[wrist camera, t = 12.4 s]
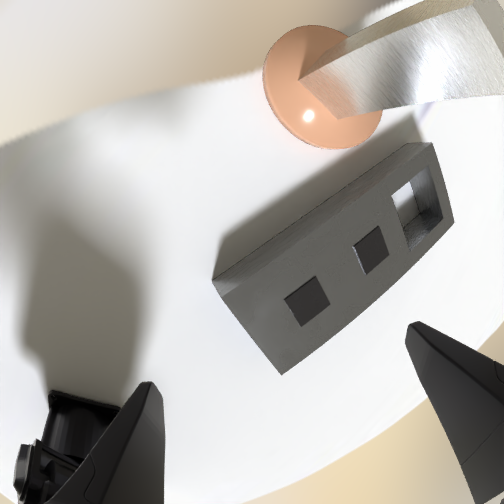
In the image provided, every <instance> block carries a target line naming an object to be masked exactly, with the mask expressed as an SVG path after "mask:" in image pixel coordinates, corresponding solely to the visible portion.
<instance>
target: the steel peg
mask: <svg viewBox="0 0 504 504" xmlns="http://www.w3.org/2000/svg"><path fill="white" fill-rule="evenodd" d="M298 81H299V82H300V83H301V84H302V85H303V86H304V87H305V88H306V89H307V90H308V91H309V92H310V93H312V94H313V95H314V96H315V97H316V98H317V99H318V100H319V101H320V102H321V103H322V104H323V105H324V106H325V107H326V108H327V109H328V110H329V112H330V113H331V114H332V115H333V116H334V117H335V118H336V119H337V120H338V119H343V118H347V117H351V116H356V115H360V114H365V113H370V112H375V111H380V110H385V109H390V108H396V107H401V106H407V105H413V104H419V103H426V102H433V101H440V100H448V99H457V98H466V97H477V96H490V95H504V11H503V9H502V7H501V6H500V4H499V3H498V1H497V0H424V1H422V2H420V3H417V4H415V5H413V6H410V7H408V8H406V9H404V10H401V11H399V12H397V13H395V14H393V15H391V16H389V17H387V18H385V19H383V20H381V21H379V22H377V23H375V24H373V25H371V26H369V27H367V28H365V29H363V30H361V31H359V32H357V33H356V34H354V35H352V36H350V37H348V38H347V39H345V40H343V41H341V42H340V43H338V44H336V45H334V46H333V47H331V48H329V49H328V50H326V51H325V52H324V53H323V54H322V56H321V57H320V58H319V59H318V60H317V61H316V62H315V63H314V64H313V65H312V66H311V67H310V68H309V69H308V70H307V71H306V72H305V74H304V75H303V76H302V77H301V78H300V79H299V80H298Z"/></svg>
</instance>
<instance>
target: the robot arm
mask: <svg viewBox="0 0 504 504" xmlns="http://www.w3.org/2000/svg"><path fill="white" fill-rule="evenodd" d="M405 345H406V348H407V350H408V352H409V355H410V357H411V360H412V362H413V365H414V367H415V370H416V372H417V375H418V377H419V380H420V382H421V384H422V386H423V388H424V390H425V392H426V394H427V395H428V397H429V399H430V401H431V403H432V405H433V407H434V409H435V411H436V413H437V415H438V418H439V420H440V422H441V423H442V426H443V428H444V430H445V432H446V434H447V436H448V439H449V441H450V443H451V445H452V447H453V450H454V452H455V454H456V456H457V459H458V461H459V464H460V465H461V469H462V471H463V474H464V476H465V478H466V481H467V483H468V486H469V488H470V491H471V494H472V496H473V499H474V502H475V504H484V503H486V502H487V501H489V500H491V499H492V498H494V497H496V496H497V495H499V494H500V493H502V492H503V491H504V365H502V364H500V363H498V362H496V361H493V360H492V359H491V358H489V357H487V356H485V355H483V354H481V353H479V352H477V351H476V350H474V349H472V348H470V347H468V346H466V345H464V344H462V343H460V342H459V341H457V340H455V339H453V338H451V337H449V336H447V335H445V334H443V333H441V332H439V331H438V330H436V329H434V328H432V327H430V326H428V325H426V324H424V323H422V322H420V321H417V322H414V323H411V324H409V326H408V329H407V334H406V339H405ZM54 396H55V397H54ZM48 400H49V414H48V417H47V421H46V424H45V428H44V432H43V436H42V439H41V441H40V440H38V439H36V440H35V441H34V443H33V445H30V444H29V445H25V444H21V446H20V449H19V452H18V456H17V459H16V464H15V470H14V481H13V486H14V488H15V489H16V491H17V496H18V504H164V464H165V424H164V409H163V398H162V395H161V393H160V392H159V390H158V389H157V387H156V386H155V384H154V383H153V382H151V381H149V382H142V383H140V384H139V386H138V387H137V388H136V390H135V391H134V392H133V394H132V395H131V397H130V398H129V399H128V401H127V402H126V403H125V405H124V406H123V407H122V409H121V408H119V407H117V406H112V405H108V404H103V403H99V402H94V401H90V400H86V399H82V398H79V397H75V396H71V395H68V394H64V393H61V392H57V391H54V390H52V391H50V392H49V395H48ZM116 412H118V413H116ZM500 504H504V499H502V500H501V503H500Z"/></svg>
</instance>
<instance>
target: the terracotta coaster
mask: <svg viewBox="0 0 504 504" xmlns="http://www.w3.org/2000/svg"><path fill="white" fill-rule="evenodd" d="M347 38H348V36H346V35H345V34H343V33H341V32H339V31H337V30H334V29H332V28H328V27H324V26H318V25H317V26H316V25H308V26H301V27H298V28H295V29H293V30H291V31H289V32H287V33H286V34H284V35H283V36H282V37H281V38H280V39H279V40H278V41H277V42H276V43H275V44H274V45H273V46H272V47H271V49H270V50H269V52H268V54H267V56H266V59H265V62H264V67H263V86H264V91H265V94H266V98H267V100H268V103H269V105H270V107H271V109H272V111H273V113H274V114H275V116H276V117H277V118H278V120H279V121H280V122H281V124H282V125H283V126H284V127H285V128H286V129H287V130H288V131H289V132H290V133H291V134H293V135H294V136H295V137H297V138H298V139H300V140H302V141H303V142H305V143H307V144H309V145H312V146H314V147H318V148H322V149H344V148H350V147H353V146H356V145H359V144H360V143H362V142H364V141H365V140H366V139H368V138H369V137H370V136H371V135H372V133H373V132H374V131H375V129H376V128H377V126H378V124H379V122H380V119H381V116H382V111H383V110H380V111H375V112H370V113H365V114H360V115H356V116H351V117H347V118H343V119H338V120H337V119H336V118H335V117H334V116H333V115H332V114H331V113H330V112H329V110H328V109H327V108H326V107H325V106H324V105H323V104H322V103H321V102H320V101H319V100H318V99H317V98H316V97H315V96H314V95H313V94H312V93H310V92H309V91H308V90H307V89H306V88H305V87H304V86H303V85H302V84H301V83H300V82H299V81H298V80H299V79H300V78H301V77H302V76H303V75H304V74H305V72H306V71H307V70H308V69H309V68H310V67H311V66H312V65H313V64H314V63H315V62H316V61H317V60H318V59H319V58H320V57H321V56H322V54H323V53H324V52H325V51H326V50H328V49H329V48H331V47H333V46H334V45H336V44H338V43H340V42H341V41H343V40H345V39H347Z"/></svg>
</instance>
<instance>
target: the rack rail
mask: <svg viewBox="0 0 504 504" xmlns="http://www.w3.org/2000/svg"><path fill="white" fill-rule="evenodd" d="M408 181H410V183H411V186H412V189H413V192H414V195H415V198H416V201H417V205H418V208H419V211H420V214H419V215H418V216H417V217H416V218H415V219H413V220H412V221H411V222H410V223H409V224H408V225H407V226H406V227H405V228H404V229H402V226H401V223H400V220H399V217H398V214H397V211H396V208H395V205H394V202H393V200H392V197H391V195H392V194H394V193H395V192H396V191H397V190H399V189H400V188H401V187H402V186H404V185H405V184H406V183H407V182H408ZM453 224H454V218H453V214H452V209H451V205H450V201H449V197H448V193H447V189H446V186H445V182H444V178H443V175H442V172H441V168H440V165H439V162H438V159H437V156H436V152H435V149H434V147H433V144H432V143H407V144H406V145H404V146H403V147H402V148H400V149H399V150H397V151H396V152H394V153H393V154H392V155H390V156H389V157H387V158H386V159H384V160H383V161H382V162H380V163H379V164H377V165H376V166H375V167H373V168H372V169H370V170H369V171H367V172H366V173H365V174H363V175H362V176H360V177H359V178H357V179H356V180H355V181H353V182H352V183H350V184H349V185H348V186H346V187H345V188H343V189H342V190H340V191H339V192H338V193H336V194H335V195H333V196H332V197H331V198H329V199H328V200H326V201H325V202H323V203H322V204H321V205H319V206H318V207H316V208H315V209H313V210H312V211H311V212H309V213H308V214H306V215H305V216H304V217H302V218H301V219H299V220H298V221H296V222H295V223H294V224H292V225H291V226H289V227H288V228H286V229H285V230H284V231H282V232H281V233H279V234H278V235H276V236H275V237H274V238H272V239H271V240H269V241H268V242H267V243H265V244H264V245H262V246H261V247H259V248H258V249H257V250H255V251H254V252H252V253H251V254H249V255H248V256H247V257H245V258H244V259H242V260H241V261H240V262H238V263H237V264H235V265H234V266H232V267H231V268H230V269H228V270H227V271H225V272H224V273H222V274H221V275H220V276H218V277H217V278H215V279H214V280H212V283H213V284H214V286H215V288H216V290H217V292H218V293H219V295H220V297H221V298H222V300H223V301H224V302H225V304H226V305H227V306H228V308H229V309H230V310H231V312H232V313H233V314H234V316H235V317H236V318H237V320H238V321H239V322H240V324H241V325H242V326H243V327H244V329H245V330H246V331H247V333H248V334H249V335H250V336H251V338H252V339H253V340H254V342H255V343H256V344H257V345H258V347H259V348H260V349H261V351H262V352H263V353H264V354H265V356H266V357H267V358H268V359H269V361H270V362H271V363H272V364H273V366H274V367H275V368H276V369H277V371H278V372H279V373H280V374H281V375H283V374H284V373H285V372H287V371H288V370H290V369H291V368H292V367H294V366H295V365H296V364H298V363H299V362H301V361H302V360H303V359H305V358H306V357H307V356H309V355H310V354H311V353H313V352H314V351H315V350H317V349H318V348H319V347H320V346H322V345H323V344H324V343H326V342H327V341H328V340H329V339H331V338H332V337H333V336H334V335H336V334H337V333H338V332H339V331H341V330H342V329H343V328H344V327H345V326H347V325H348V324H349V323H350V322H352V321H353V320H354V319H355V318H356V317H357V316H359V315H360V314H361V313H362V312H363V311H364V310H366V309H367V308H368V307H369V306H370V305H371V304H373V303H374V302H375V301H376V300H377V299H378V298H379V297H380V296H382V295H383V294H384V293H385V292H386V291H387V290H388V289H389V288H390V287H391V286H392V285H394V284H395V283H396V282H397V281H398V280H399V279H400V278H401V277H402V276H403V275H404V274H405V273H406V272H407V271H408V270H409V269H410V268H411V267H412V266H413V265H414V264H415V263H417V262H418V261H419V260H420V259H421V258H422V257H423V256H424V255H425V253H426V252H427V251H428V250H429V249H430V248H431V247H432V246H433V245H434V244H435V243H436V242H437V241H438V240H439V239H440V238H441V237H442V236H443V235H444V234H445V233H446V231H447V230H448V229H449V228H450V227H451V226H452V225H453Z"/></svg>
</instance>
